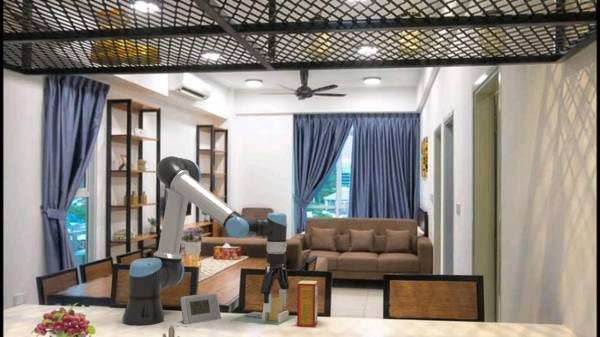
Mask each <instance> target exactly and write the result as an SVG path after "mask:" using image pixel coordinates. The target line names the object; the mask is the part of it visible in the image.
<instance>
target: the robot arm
mask: <svg viewBox="0 0 600 337" xmlns="http://www.w3.org/2000/svg"><path fill="white" fill-rule="evenodd" d="M156 177H157V179H158V180H159V181H160V182H161V183H162V184H163V185H165V188H164V189H165V190H166V191H167V198H166V204H165V210H164V216H163V222H162V227H161V232H160V237H159V242H158V243H159V244H158V249H157V250H156V251H155V252H154V253H153V255H152V256H153V257H145V258H139V259H134V260H133V261H131V262H130V266H129V270H128V271H129V272H128V274H129V278H128V299H127V300H128V301H127V305H126V306H125V310H124V313H123V315H122V323H123V324H125V325H130V326H131V325H133V326H134V325H135V326H144V325H145V326H146V325H153V324H154V325H155V324H158V323H162V322H164V321H165V313H164V310H163V305H162V302H161V290H163V289H170V288H172V287H175V286H177V285H178V284H180V282H181V281H182V280H183V279H184V276H185V266H184V265H183V263H182V260H183V256H182V255H181V253H180V249H181V245H182V239H183V233H184V228H185V227H184V226H185V221H186V216H187V211H188V204H189V202H191V203H192V204H193V205H194V206H196V207H197V208H198V209H199V210H201V211H202V212H203V213H205V214H206V215H207V216H209V217H210V218H211V219H212V220H214V221H215V222H216V223H217V224H219V226H221V227H223V228H224V229H225V232H226V234H227V235H228V236H229V237H230V238H235V239H243V238H251V237H252V238H255V237H256V238H257V237H259V238H266V252H267V253H266V263H267V264H269V266H265V270H264V274H263V279H262V284H261V287H260V294H261V295H263V310H262V311H263V312H271V298H272V293H271V292H272V288H273V286H274V283H275V281H276V280H277V282H278V285H279V287H280V288H279V290H278V291H279V292H278V293H279V294H278V297H282V298H283V307H287V290H289V288H290V284H289V277H288V272H287V271H288V270H287V264H286V262H287V253H286V252H287V248H288V244H287V228H288V227H287V226H288V221H287V217H288V216H287V214H286V213H284V212H269V213H268V214H267V216H266V217H254V216H253V217H251V216H246V217H244V216H243V215H242V214H240V213H239V212H237V211H236V210H235V209H234V208H233V207H231V206H230V205H229V204H227V203H226V202H224V201H223V199H221V198H219V197H218V196H217V195H215V194H214V193H213V192H212V191H211V190H209V189H208V188H207V187H206V186H204V185H203V184H201V183H200V181H201V178H202V172H201V168H200V167H199V165H198V164H197V163H196V162H195V161H193V160H191V159H188V158H182V157H178V156H174V155H173V156H172V155H170V156H166V157H164V158H161V160H160V161H159V162H158V163H157V166H156Z"/></svg>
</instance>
